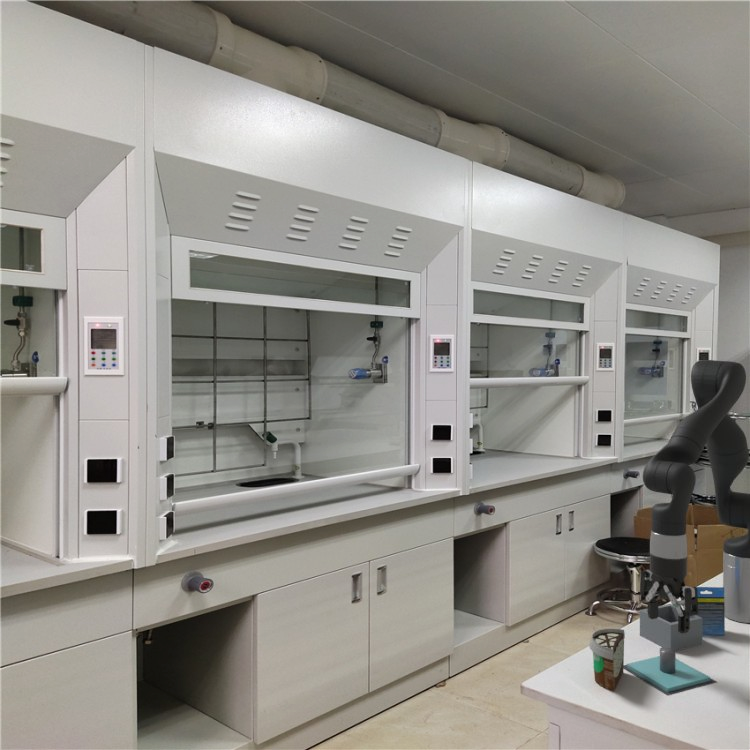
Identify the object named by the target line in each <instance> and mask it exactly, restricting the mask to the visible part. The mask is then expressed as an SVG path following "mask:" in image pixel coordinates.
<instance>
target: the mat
mask: <svg viewBox="0 0 750 750" xmlns="http://www.w3.org/2000/svg"><path fill="white" fill-rule="evenodd" d="M623 670H625V671H627V672H628V673H629V674H631V675H633V676H635V677H636V678H638V679H640V680H641V681H643V682H644V683H646V684H648V685H649V686H651V687H653V688H654V689H656V690H657V691H660V692H661V693H662V694H664V695H666V696H670V695H671V696H672V695H675V694H680V693H682V692H685V691H690V690H693V689H698V688H701V687H704V686H709V685H712V684H715V683H718V681H717V680H715V679H713V678H711V677H710V681H707V682H704V683H700V684H696V685H692V686H689V687H685V688H681V689H678V690H674V691H670V692H667V691H665V690H663V689H662V688H660V687H658V686H657V685H655V684H653V683H652V682H650V681H648V680H647V679H645V678H643V677H642V676H640V675H638V674H637V673H635V672H633V671H632V670H630V669H628V668H627V664H624V668H623Z"/></svg>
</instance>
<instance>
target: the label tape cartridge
mask: <svg viewBox="0 0 750 750" xmlns="http://www.w3.org/2000/svg"><path fill="white" fill-rule="evenodd" d="M695 587H696V588H697V591H698V615H697V616H699V617H701V618H703V622H702V636H704V635H705V636H709V635H711V636H725V631H726V630H725V629H726V627H725V623H726V621H725V619H726V617H725V599H724V587H723V586H722V587H721V586H719V587H717V586H715V587H714V586H712V587H711V586H695ZM706 591H707V592H710V593H704V592H706ZM701 592H703V593H701ZM682 609H683V610H684V608H683V607H682ZM691 609H692V605H691Z"/></svg>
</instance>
